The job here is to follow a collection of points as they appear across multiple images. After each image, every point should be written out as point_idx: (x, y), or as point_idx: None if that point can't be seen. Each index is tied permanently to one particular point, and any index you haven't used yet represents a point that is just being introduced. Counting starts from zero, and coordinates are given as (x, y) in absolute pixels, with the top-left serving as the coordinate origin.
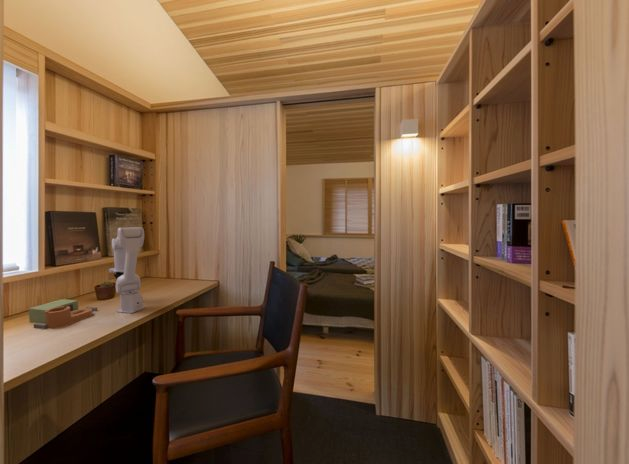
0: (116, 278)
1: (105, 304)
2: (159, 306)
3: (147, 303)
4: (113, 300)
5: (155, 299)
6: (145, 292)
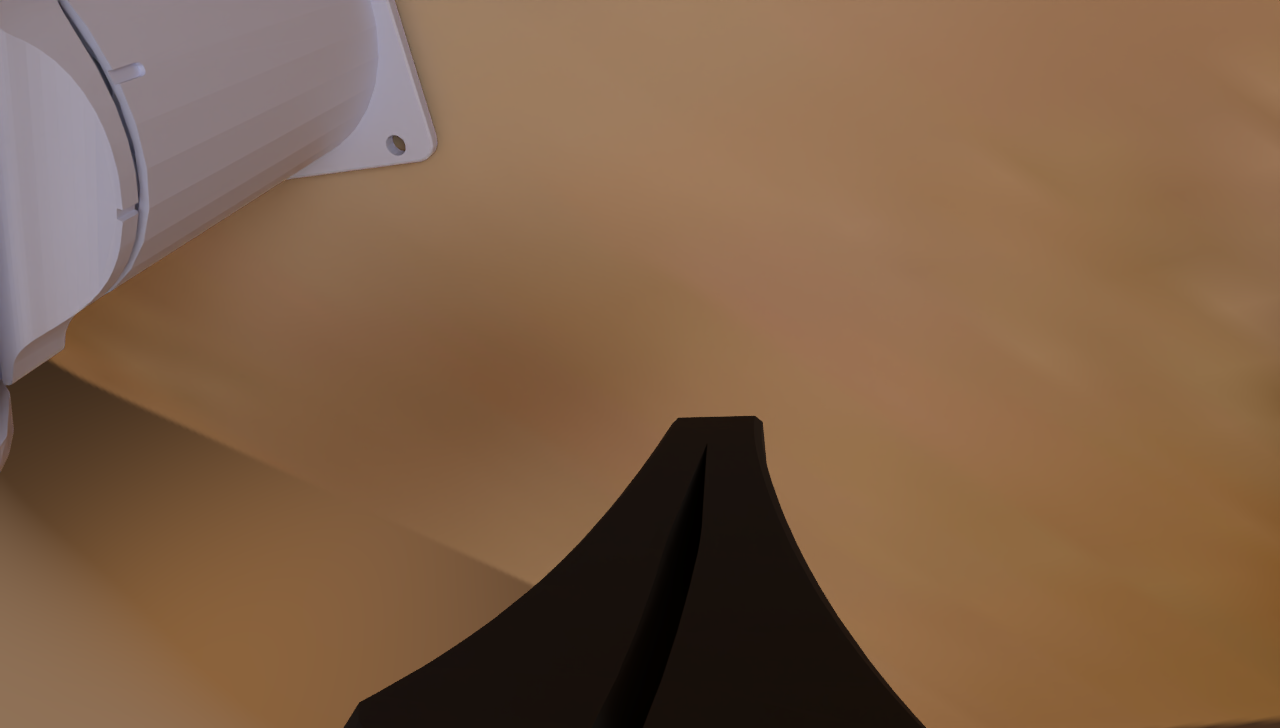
0: (800, 616)
1: (1117, 56)
2: (83, 328)
3: (377, 374)
4: (1176, 312)
5: (472, 532)
6: (958, 725)
